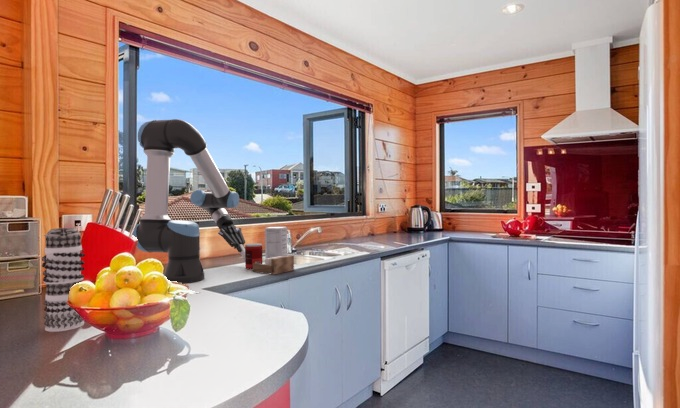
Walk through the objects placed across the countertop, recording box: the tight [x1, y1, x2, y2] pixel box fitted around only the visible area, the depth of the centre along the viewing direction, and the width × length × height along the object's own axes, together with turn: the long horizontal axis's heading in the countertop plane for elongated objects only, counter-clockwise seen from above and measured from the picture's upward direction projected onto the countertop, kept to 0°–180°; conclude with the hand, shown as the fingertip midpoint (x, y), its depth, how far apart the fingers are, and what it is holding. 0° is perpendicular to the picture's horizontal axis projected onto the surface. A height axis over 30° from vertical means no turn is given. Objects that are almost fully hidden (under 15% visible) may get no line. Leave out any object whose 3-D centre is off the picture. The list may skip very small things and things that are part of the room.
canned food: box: [244, 242, 263, 270], centre depth 188 cm, size 8×8×11 cm
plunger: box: [264, 256, 283, 265], centre depth 180 cm, size 9×2×6 cm, turn 144°
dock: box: [252, 254, 295, 275], centre depth 180 cm, size 12×13×6 cm
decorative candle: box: [41, 227, 86, 333], centre depth 104 cm, size 9×9×25 cm
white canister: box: [264, 226, 288, 259], centre depth 215 cm, size 10×9×17 cm
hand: (246, 256), depth 192 cm, fingers closed
